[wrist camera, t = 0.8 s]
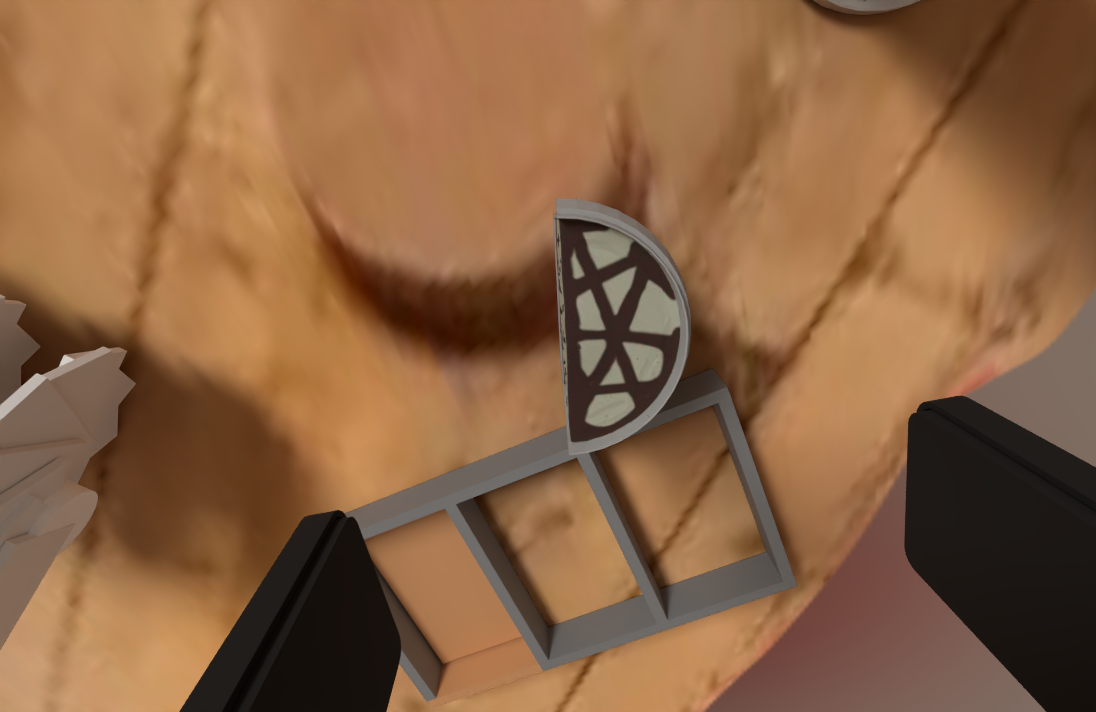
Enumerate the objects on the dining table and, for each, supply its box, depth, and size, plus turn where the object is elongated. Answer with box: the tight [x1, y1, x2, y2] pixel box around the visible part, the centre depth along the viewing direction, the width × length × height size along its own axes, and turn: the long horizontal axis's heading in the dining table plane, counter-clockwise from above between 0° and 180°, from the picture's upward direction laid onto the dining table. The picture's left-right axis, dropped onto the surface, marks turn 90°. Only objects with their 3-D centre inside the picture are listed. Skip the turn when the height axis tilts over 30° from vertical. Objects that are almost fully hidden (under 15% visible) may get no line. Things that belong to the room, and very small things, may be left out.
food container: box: [553, 199, 691, 455], centre depth 29 cm, size 12×6×10 cm, turn 3°
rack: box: [345, 368, 797, 708], centre depth 39 cm, size 29×17×3 cm, turn 114°
